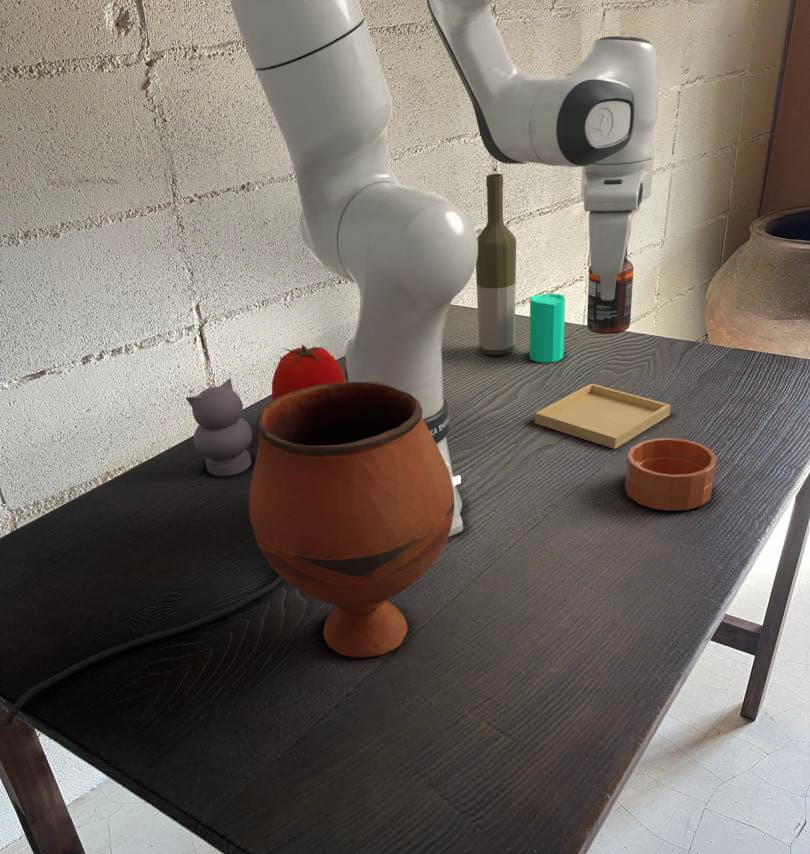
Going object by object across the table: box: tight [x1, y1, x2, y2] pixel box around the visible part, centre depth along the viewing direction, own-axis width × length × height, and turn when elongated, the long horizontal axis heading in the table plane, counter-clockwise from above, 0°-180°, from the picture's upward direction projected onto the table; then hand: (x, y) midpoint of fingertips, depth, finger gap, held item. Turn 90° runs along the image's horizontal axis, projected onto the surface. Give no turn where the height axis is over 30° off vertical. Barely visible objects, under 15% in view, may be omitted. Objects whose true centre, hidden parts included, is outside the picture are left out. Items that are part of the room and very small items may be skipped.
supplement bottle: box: [586, 246, 634, 335], centre depth 113 cm, size 6×6×11 cm
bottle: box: [475, 173, 517, 356], centre depth 143 cm, size 7×7×30 cm
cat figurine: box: [185, 378, 253, 477], centre depth 117 cm, size 9×8×12 cm
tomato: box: [271, 343, 346, 401], centre depth 125 cm, size 12×12×13 cm
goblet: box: [248, 381, 454, 659], centre depth 79 cm, size 19×19×25 cm
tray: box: [534, 383, 672, 450], centre depth 123 cm, size 14×14×2 cm
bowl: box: [624, 437, 718, 512], centre depth 103 cm, size 10×10×5 cm
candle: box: [529, 288, 566, 363], centre depth 144 cm, size 6×6×12 cm
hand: (609, 290), depth 113 cm, fingers closed on supplement bottle, 6 cm apart
